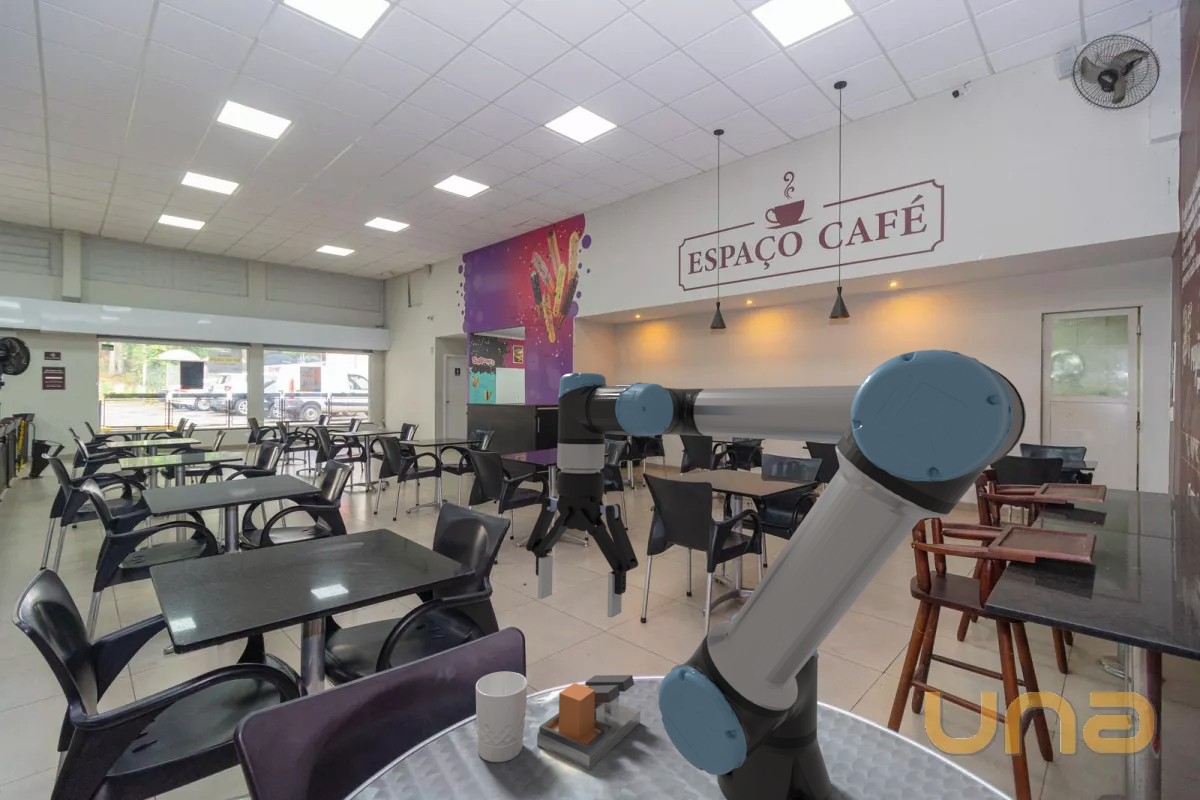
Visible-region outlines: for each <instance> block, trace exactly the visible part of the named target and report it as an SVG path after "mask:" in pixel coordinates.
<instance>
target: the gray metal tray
mask: <svg viewBox="0 0 1200 800" xmlns="http://www.w3.org/2000/svg"><path fill="white" fill-rule="evenodd" d="M619 701H620V695H619V696H618V697H617V698H615V699H614V700H613V701H612V702H610V703H596V704H595V709H594V729H593V730H592V731H591V732H590V733H588V734H587V735H586V736H585V737H584V738H582V739H581V740H580V741H578V740H575V739H573V738H571V737H569V736H566V735H564V734H562V733H559V712H558V713H556V714H555V715H554V716H552V717H551V718H549V719H548V720H546V721H545V722H544V723H542V724H541V725H540V726H539V729H538V731H537V733H536V746H538V747H540V748H542V749H543V750H546V751H548V752H550V753H552V754H554V755H556V756H559V757H561V758H563V759H565V760H568V761H570V762H572V763H574V764H576V765H578V766H580V767H582V768H585V769H587V770H589V771H590V769H592V768H593V767H594V766H595V765H596V764H598V762H599V761H601V760H602V759H603V758H604V757H605V756H606V755H607V754H608V753H609V752H610V751H612V750H613V748H615V747H616V746H617V744H619V743H620V742H621V741H622V740H624V738H626V736H627V735H629V734H630V733H631V732H632V731H633V730H634V729H635V728H636V727H637V726H638V725H640V723H641V710H640V709H638V708H635V707H632V706H629V705H627V704H625V703H620V702H619Z"/></svg>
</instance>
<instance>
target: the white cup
mask: <svg viewBox="0 0 1200 800" xmlns="http://www.w3.org/2000/svg"><path fill="white" fill-rule="evenodd" d="M527 679H528V678H527V677H526V676H524V675H523V674H521V673H518V672H513V671H497V672H495V671H494V672H492V673H489V674H485V675H483V676H482V677H480V678H479V679H478V680H477V682H475V683H476V684H475V709H476V710H475V718H476V735H477V746H478V747H477V749H478V751H477V752H478V755H479V757H480V758H482V760H485V761H487V762H489V763H504V762H508V761H511V760H513V759H514V758H516V757H517V756H519V755H520V753H521V751H522V749H523V744H524V743H523V741H524V730H525V722H526V712H527V711H526V710H527V695H528V680H527Z"/></svg>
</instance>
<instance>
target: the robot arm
mask: <svg viewBox="0 0 1200 800" xmlns="http://www.w3.org/2000/svg"><path fill="white" fill-rule="evenodd" d="M557 404H558V406H557V408H558V410H557V411H558V412H557V413H558V414H557V415H558V417H557V418H558V419H557V420H558V421H557V460H556V466H557V468H558V469H560V470H559V471H558V473H556V493H557V495H558V498H557V496H548V497H543V498H542V501H541V510H540V512H539V514H538V517H537V520H536V521H535V525H534V527H533V529H532V531H531V534H530V536H529V538H528V541H527V544H526V545H525V548H526V549H525V550H526V551H527V552H532V553H533V554H534V556H535V575H536V576H537V577H538V580H537V583H538V584H537V599H539V600H543V599H545V598H547V597H550V596H553V568H554V567H553V566H554V565H553V564H554V563H553V561H554V559H553V557H554V556H553V555H552V551H551V550H552V549H553V548H554V546H555V545H556V544H557V542H558V541H559V540H560V539H561V537H562V536H563V535H564V534H565V532H566V531H567V529H569V530H575V529H576V530H578V531H579V532H587V534H588V535H589V536H591V537H592V538H593V540H594V542H595V544H596V545H597V546H598V548H599V550H600V551H601V553H602V555H603V557H604V558H605V560H606V561H607V563H608V565H609V566H610V568H611V570H610V571H609V572H608V573H607V613H606V614H607V615H606V616H607V617H608V618H611V619H612V618H614V617H616V616H617V615H620V614H621V613H622V595H623V594H625V592H626V590H627V572H629V571H631V570H633V569H636V568H638V566H639V561H638V558H637V556H636V554H635V551H634V550H635V549H634V548H633V545H632V543H631V540H630V538H629V535H628V532H627V530H626V527H625V525H624V522H623V520H622V519H623V518H622V512H621V509H622V508H621V506H620V504H619V503H614V504H610V505H609V504H605V505H604V502H603V497H604V492H605V474H604V473H603V471H601V470H602V469H604V468H605V446H606V445H605V442H606V440H605V439H606V438H605V436H606V435H608V434H609V435H620V436H621V435H623V436H634V437H651V436H658V435H660V436H661V435H662V436H663V435H677V436H678V435H679V436H697V437H701V436H702V437H703V436H705V437H719V438H720V437H722V438H723V437H724V438H739V439H741V438H742V439H757V440H758V439H759V440H775V441H776V440H777V441H792V442H794V441H795V442H813V443H814V442H815V443H829V444H831V443H832V444H836V445H835V447H834V449H835V453H836V456H837V457H836V458H837V461H838V464H839V468H838V469H837V471H836V473H835V474H834V475H833V477H832V478H831V480H830V481H829V483H828V484H827V486H826V487H825V488H824V490H823V491H822V493H821V494H820V496H819V497H818V498H817V500H816V501H815V502H814V504H813V505H812V507H811V508H810V510H809V511H808V513H807V514H806V515H805V516H804V519H803V520H802V521H801V522H800V524H799V526H797V529H796V530H795V531H794V533H793V534H792V536H791V537H790V539H789V540H788V541H787V542H786V544H785V546H784V547H783V548H782V550H781V551H780V553H778V556H777V557H776V559H775V560H774V561H773V563H772V564H771V565H770V567H769V568H768V570H767V572H766V573H765V574H764V576H763V577H762V578H761V580H760V581H759V582H758V584H757V586H756V587H755V588H754V590H752V593H751V594H750V596H749V597H747V600H746V602H744V604H743V606H742V607H741V608H740V610H739V611H738V612H737V613H735V614H734V615H733V616H732V617H731V621H728V620H727V621H726V620H725V621H720V622H717V623H715V624H714V625H712V627H711V628H710V629H709V631H708V632H707V634H706V635H705V637H704V638H703V640H702V641H701V642H700V644H699V645H698V647H697V648H696V649H695V651H694V652H693V654H692V655H691V656H690V658H688V660H686V661H685V662H684V663H683V664H678V665H676V666H674V667H673V668H671V670H670V671H669V672H668V673H667V674H666V675H665V676H664V677H663V678H662V680H661V683H660V686H659V690H658V708H659V712H660V714H661V721H662V725H663V727H664V730H665V732H666V733H667V735H668V738H669V739H670V741H671V743H672V744H673V746H674V747H675V749H676V750H677V751H678V753H679V754H680V755H681V756H682V757H683V758H684V759H685V760H686V761H687V762H688V763H689V764H690V765H692V766H693V767H695V768H696V769H698V770H700V771H704V772H706V773H707V774H710V775H714V776H716V777H717V778H716V779H717V780H716V781H717V785H718V787H719V789H720V791H721V792H722V794H723V795H724V797H725V798H726V799H727V800H832V784H831V780H830V776H829V773H828V770H827V766H826V763H825V761H824V760H825V759H824V757H823V754H822V750H821V746H820V744H819V741H818V664H819V663H818V660H819V659H818V658H819V657H820V654H819V653H818V648H820V646H821V645H822V643H823V642H824V641H825V640H826V639H827V638H828V636H829V635H830V633H831V632H832V630H834V628H835V627H836V626H837V624H838V623H839V621H841V619H842V618H843V617H844V616H845V614H846V613H847V612H848V611H849V609H850V608H851V607H852V606H853V604H854V603H855V602H856V601H857V599H858V598H859V597H860V595H861V594H862V593H863V592H864V590H865V589H866V588H867V587H868V586H869V584H870V583H871V582H872V581H873V579H874V578H875V577H876V575H877V574H878V573H879V572H880V570H881V569H882V568H883V567H884V565H885V564H886V563H887V562H888V561H889V559H890V558H891V556H892V555H893V554H894V553H895V552H896V551H897V549H898V548H899V547H900V545H901V544H902V543H903V542H904V541H905V540H906V538H907V537H908V536H909V534H910V533H911V532H912V530H913V529H914V528H915V527H916V525H917V524H918V523H919V521H921V520H924V519H932V518H933V519H934V518H944V517H947V516H948V515H949V514H950V513H951V511H952V510H953V509H954V508H955V507H956V505H957V504H958V503H959V501H961V499H962V498H963V496H965V494H967V492H968V491H969V490H970V488H971V487H972V486H973V485H974V483H976V481H977V480H978V478H980V476H981V475H982V474H983V472H985V470H986V469H987V468H988V467H989V466H991V465H993V464H994V463H996V462H998V461H1000V460H1002V459H1003V458H1005V457H1006V456H1007V455H1009V453H1010V452H1011V451H1013V450H1014V448H1015V447H1016V445H1018V443H1019V441H1020V439H1021V438H1022V435H1023V433H1024V431H1025V428H1026V427H1025V426H1026V418H1027V413H1026V412H1027V411H1026V408H1025V403H1024V401H1023V398H1022V396H1021V393H1020V392H1019V391H1018V389H1017V387H1016V386H1015V385H1014V384H1013V382H1012V381H1011V380H1010V379H1008V378H1007V376H1005V375H1003V374H1001V372H999V371H997V370H996V369H994V368H991V367H990V366H989V365H987V364H985V363H982V362H981V361H979V360H978V359H977V358H975V357H971V356H968V355H965V354H963V353H960V352H958V351H952V350H946V349H941V350H940V349H925V350H923V349H922V350H916V351H910V352H906V353H905V352H904V353H901V354H899V355H896V356H894V357H892V358H889V359H888V360H886V361H884V362H882V363H881V364H879V365H878V366H877V367H876V368H874V369H873V370H872V371H871V372H870V373H869V374H868V375H867V376H866V377H865V378H864V380H863V381H862V382H861V384H860V385H859V384H857V385H819V386H818V385H817V386H816V385H815V386H807V385H806V386H773V387H771V386H770V387H766V386H764V387H763V386H762V387H727V388H725V387H724V388H723V387H722V388H721V387H720V388H719V387H716V388H715V387H714V388H674V387H673V388H671V387H664V386H662V385H660V384H658V383H650V382H649V383H648V382H633V383H629V384H611V385H608V384H606V376H604V374H601V373H594V372H593V373H592V372H571V373H570V372H569V373H566V374H564V375H562V376H561V377H560V379H559V389H558V397H557ZM556 511H558V513H559V516H558V517H557V518H556V520H555V521H554V522H553V519H554V517H555V515H556ZM602 516H603V518H604V519H605V521H606V524H607V525H606V524H605V522H604V520H603V519H602ZM552 522H553V526H552V527H551V528H550V526H551V524H552ZM549 528H550V530H549ZM607 529H608V530H609V532H608V530H607Z"/></svg>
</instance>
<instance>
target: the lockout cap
mask: <svg viewBox="0 0 1200 800" xmlns="http://www.w3.org/2000/svg"><path fill="white" fill-rule="evenodd" d="M585 686H586V685H582V684H579V683H577V682H573V683H572V684H571V685H569V686H567V687H566V688H565V689H563V690H561V691H560V692H559V693H558V694H559V696H558V697H559V698H558V699H559V700H558V713H559V733H562V734H564V735H566V736H569V737H571V738H573V739H575V740H578V741H580V740H581V739H582V738H584V737H585V736H586V735H587V734H588V733H590V732H591V731H592V730H593V729H594V709H595V690H593V689H590V688H587V687H585Z"/></svg>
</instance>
